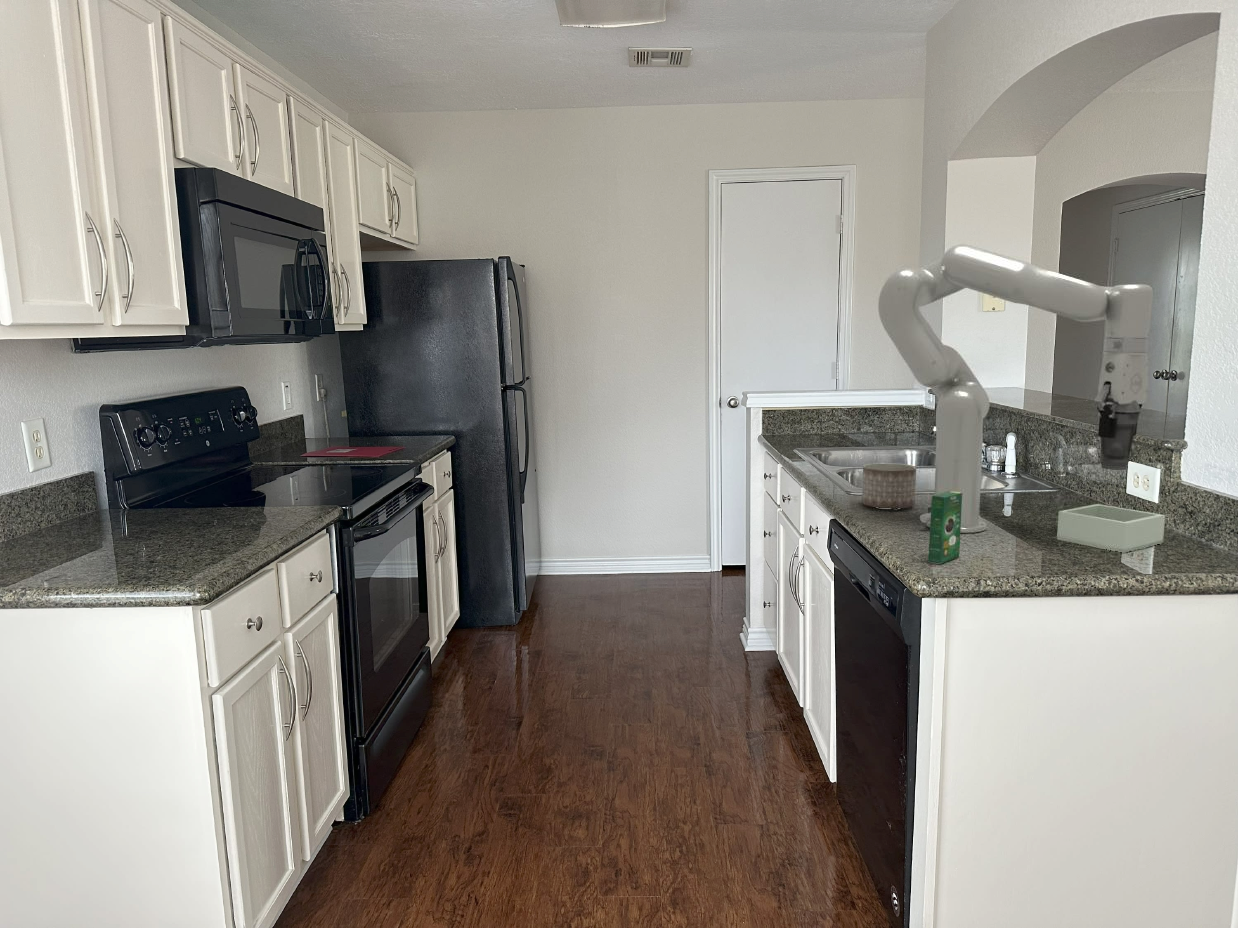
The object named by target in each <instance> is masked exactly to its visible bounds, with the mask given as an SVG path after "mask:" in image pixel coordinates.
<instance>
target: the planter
mask: <svg viewBox="0 0 1238 928" xmlns="http://www.w3.org/2000/svg"><path fill="white" fill-rule="evenodd" d="M916 483H917V467H916V466H914V465H912V464H907V463H906V464H905V463H899V462H897V463H895V462H873V463H866V464H863V465H862V486H861V487H862V489H861V490H862V491H861V493H862V494H861V495H862V496H861V502H862V504H863V505H865V506H868V507H872V508H874V507H878V508H891V509H898V508H902V509H908V508H911V507H914V506H915V503H916Z"/></svg>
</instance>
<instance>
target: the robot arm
mask: <svg viewBox="0 0 1238 928" xmlns="http://www.w3.org/2000/svg"><path fill="white" fill-rule="evenodd" d="M965 289H969V290H971V291H976V292H978V293H981V294H985V295H988V296H992V297H994V298H997V299H1000V300H1004V301H1007V302H1010V303H1013V304H1019V305H1026V306H1029V307H1032V308H1037V309H1039V310H1042V311H1045V312H1049V313H1052V314H1055V315H1059V316H1061V317H1065V318H1068V319H1071V320H1074V321H1077V322H1082V323H1089V322H1090V323H1091V322H1096V321H1104V320H1105V322H1106V325H1105V334H1104V344H1103V355H1104V356H1103V359H1102V362H1101V363H1102V364H1101V368H1100V374H1099V381H1098V389H1097V392H1098V393H1097V395H1096V396H1095V398H1094V402H1095V404H1096V405H1095V406H1096V408H1097V411H1098V414H1097V415H1098V417H1099V421H1098V423H1099V424H1098V433H1097V435H1098V437H1099V438H1101V437H1106V438H1115V434H1116V424H1117V418H1114V417H1115V415H1116V412H1117V407H1118V404H1120V405H1127V404H1129V403H1131V402H1132V401H1133V400H1136V401H1137V402H1138V404H1139V408H1140V410H1141V408H1142V407H1143V405H1144V403H1145V402H1146V401H1147V400H1148V399H1147V398H1148V392H1149V391H1148V390H1149V389H1148V388H1149V361H1148V358H1149V357H1148V347H1149V336H1150V325H1151V317H1152V307H1153V306H1152V305H1153V299H1154V297H1153V296H1154V295H1153V294H1154V291H1153V288H1152V286H1150V285H1148V284H1142V283H1141V284H1140V283H1137V284H1134V283H1132V284H1131V283H1130V284H1129V283H1128V284H1118V285H1114V286H1103V285H1102V286H1101V285H1097V284H1095V283H1092V282H1089V281H1085V280H1083V279H1078V278H1075V277H1071V276H1069V275H1065V274H1062V273H1059V272H1056V271H1052V270H1048V269H1045V268H1042V267H1040V266H1037V265H1035V264H1033V263H1030V262H1027V261H1024V260H1021V259H1017V258H1014V257H1010V256H1006V255H1004V254H1001V253H1000V254H999V253H997V252H995V251H994V252H993V251H989V250H986V249H983V248H980V247H977V246H973V245H969V244H963V243H962V244H961V243H960V244H957V245H954V246H951V247H949V248H948V249H947V251H946V252H944V254H943V256H942V257H941V258H940V259H938V260H936V261H933V262H932V263H928V264H927V265H924V266H921V267H919V268H915V267H903V268H901V269H898V270H896V271H894V272H893V273H891V274H890V276H888V278H886V281H885V282H884V284H883V286H882V288H881V291H880V294H879V297H878V306H877V307H878V308H877V309H878V315H879V319H880V322H881V324H882V326H883V328H884V331H885V332H886V334H887V336H888V337H889V338H890V341H892V343H893V344H894V346H895V348H896V350H897V351H898V353H899V354H900V356H901V358H902V359H903V361H904V362H905V363H906V365H907V366H908V368H909V369H910V371H911V373H912V375H913V376H914V378H915V379H916V381H917V383H919V384H920V385H922V386H924V387H926V388H930V389H931V390H932V393H933V394H934V395H935V397H936V399H937V400H938V401H937V404H936V407H935V432H936V435H935V436H936V439H935V441H936V443H935V470H934V491H933V492H934V493H933V495H936V494H940V493H944V492H948V491H957V492H962V509H961V530H960V534H962V533H963V534H964V533H967V534H969V533H978V532H983V531H985V530H986V529H987V523H986V522H985V521H982V520H980V504H981V483H982V465H983V462H982V461H983V437H984V435H983V434H984V433H983V428H984V427H983V425H984V418H986V416H987V415H988V413H989V410H990V406H991V405H990V399H989V396H988V394H987V392H986V390H985V389H984V386H983V385H982V384H981V382H980V381H979V380H978V378H977V377H976V375H975V373H974V372H973V371H972V370H971V368H970V367H969V365H968V364H967V362H966V360H964V358H963V356H962V355H961V354H960V353H959V352H958V351H957V350H956V349H955V348H953V347H951V346H949V345H947V344H944V343H943V342H942V341H941V340H940V338H939V336H937V334H936V333H935V331H934V330H933V328H932V326H931V325H930V323H929V322H928V321H927V319H926V318H925V317H924V315H923V313H922V312H921V310H920V308H921V307H925V306H927V305H929V304H932V303H934V302H936V301H939V300H941V299H944V298H946V297H948V296H951V295H953V294H956V293H958V292H960V291H962V290H965ZM1107 400H1114V402H1107ZM1109 406H1112V408H1111V410H1110V408H1109ZM1140 410H1139V411H1140ZM1140 412H1141V411H1140ZM1140 414H1141V413H1140ZM1140 414H1139V416H1140ZM1137 429H1138V422H1137V423H1136V426H1135V432H1134V437H1135V436H1136V435H1137ZM930 518H931V511H930V512H926V513H922V514H921V515H920V516H919V520H920V522H921V523H922V524H925V525H926V527H927V528H929V529H930Z"/></svg>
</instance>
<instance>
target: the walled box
mask: <svg viewBox="0 0 1238 928" xmlns="http://www.w3.org/2000/svg"><path fill="white" fill-rule="evenodd" d="M1165 520H1166V515H1165V514H1160V513H1156V512H1155V513H1154V512H1148V511H1142V510H1136V509H1130V508H1125V507H1118V506H1112V505H1105V504H1100V503H1096V504H1095V503H1094V504H1091V505H1090V504H1089V505H1085V506H1079V507H1075V508H1069V509H1065V510H1058V518H1057V532H1056V533H1057V534H1056V540H1058V541H1063V542H1068V543H1072V544H1078V545H1082V546H1088V547H1093V548H1097V549H1101V550H1106V549H1107V550H1106V551H1110V550H1111V552H1115V551H1118V552H1117V553H1120V552H1122V553H1121V554H1126V552H1128V553H1130V552H1129V551H1132V552H1135V551H1134V550H1136V551H1139V550H1138V549H1140V550H1143V548H1144V549H1147V548H1146V547H1148V548H1150V547H1149V546H1152V547H1155V546H1154V545H1156V546H1158V545H1157V544H1160V545H1162V544H1161V543H1163V544H1164V533H1165V523H1166V521H1165Z"/></svg>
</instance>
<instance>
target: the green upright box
mask: <svg viewBox="0 0 1238 928" xmlns="http://www.w3.org/2000/svg"><path fill="white" fill-rule="evenodd" d="M930 499H931V502H930V503H931V504H930V512H931V518H930V528H929V542H928V560H927V562H928V563H932V564H936V565H942V564H946V563H947V562H949V561H951V560H955V559H957V558H959V557H960V549H961V548H960V546H961V533H960V530H961V509H962V492H957V491H948V492H944V493H940V494H936V495H934V494H932V495H931V498H930Z"/></svg>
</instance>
